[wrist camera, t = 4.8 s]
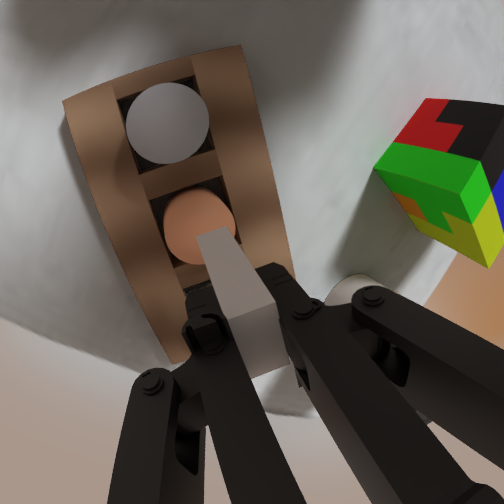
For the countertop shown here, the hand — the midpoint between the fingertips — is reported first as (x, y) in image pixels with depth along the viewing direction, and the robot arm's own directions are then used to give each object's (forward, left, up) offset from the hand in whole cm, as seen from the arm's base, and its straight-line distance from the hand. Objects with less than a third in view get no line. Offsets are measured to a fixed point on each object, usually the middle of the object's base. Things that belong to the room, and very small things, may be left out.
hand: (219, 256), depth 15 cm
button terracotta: (0, 0, -9) cm, 9 cm away
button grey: (-7, 0, -7) cm, 10 cm away
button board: (0, 0, -9) cm, 9 cm away
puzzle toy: (+2, +23, -9) cm, 25 cm away
